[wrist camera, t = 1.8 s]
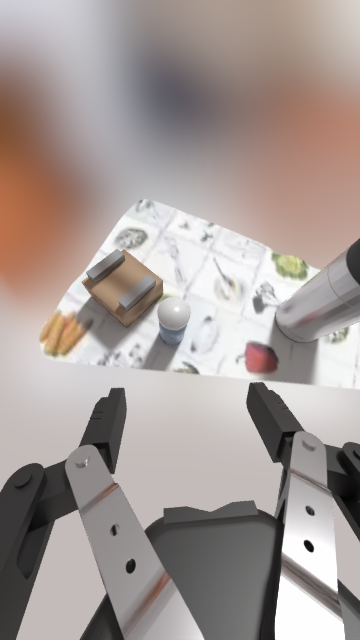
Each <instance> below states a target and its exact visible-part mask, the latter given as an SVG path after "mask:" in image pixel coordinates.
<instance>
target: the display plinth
mask: <svg viewBox="0 0 360 640" xmlns="http://www.w3.org/2000/svg"><path fill="white" fill-rule="evenodd" d="M86 273H87V275H88V277H87V278H86V279H85V280H84V281H82V284H83V285H84V286H85V288H86V289H87V290H88V292H89V293H90V295H91V296H92V297H93V298H94V299H95V300H96V301H98V302H99V303H100V304H101V305H102V306H103V307H104V308H105V309H106V310H107V311H109V312H110V313H111V314H112V315H113V316H114V317H115V318H116V319H117V320H118V321H120V322H121V323H122V324H123V325H124V326H125V327H126V328H127V327H128V326H129V325H130V324H131V323H133V322H134V321H135V320H136V319H137V318H138V317H139V316H140V315H141V314H142V313H143V312H144V311H145V310H146V309H147V308H148V307H150V306H151V305H152V304H153V303H154V302H155V301H156V300H157V299H158V298H159V297H160V296H161V295H162V294H163V280H162V279H160V278H159V277H158V276H157V275H155V274H154V273H153V272H152V271H151V270H149V269H148V268H147V267H146V266H144V265H143V264H142V263H141V262H139V261H138V260H137V259H136V258H134V257H133V256H132V255H131V254H129V253H128V252H127V251H126V250H122V251H121V252H120V251H119V250H118V249H116V250H115V251H114V252H112V253H111V254H110V255H108V256H107V257H106V258H104V259H103V260H102V261H100V262H99V263H98V264H96V265H95V266H94V267H93V268H91V269H90V270H89V271H87V272H86Z"/></svg>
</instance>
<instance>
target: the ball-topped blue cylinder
mask: <svg viewBox="0 0 360 640" xmlns="http://www.w3.org/2000/svg"><path fill="white" fill-rule="evenodd" d="M189 318H190V307H189V305H188V304H187V303H186V302H185V301H184V300H183V299H181V298H178V297H170V298H167V299H165V300H163V301H162V302H161V303H160V305H159V307H158V319H159V325H160V336H161V338H162V340H163V341H164V342H165V343H167V344H170V345H175V344H178V343H179V342H181V340H182V339H183V337H184V333H185V330H186V326H187V323H188V321H189Z"/></svg>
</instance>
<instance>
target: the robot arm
mask: <svg viewBox="0 0 360 640" xmlns="http://www.w3.org/2000/svg"><path fill="white" fill-rule="evenodd" d="M276 321H277V325H278V326H279V328H280V330H281V331H282V332H283V333H284V334H285V335H286V336H287V337H288V338H290V339H292V340H294V341H297V342H310V341H313V340H315V339H318V338H320V337H323V336H326V335H328V334H331V333H333V332H335V331H338V330H340V329H343V328H345V327H348V326H350V325H353V324H355V323H358V322H360V239H358V240H357V241H356V242H355V243H354V244H352V245H351V246H350V247H349V248H348V249H346V250H345V251H344V252H343V253H342V254H340V255H339V256H338V257H337V258H336V259H334V260H333V261H332V262H331V263H330V264H329V265H327V266H326V267H325V268H324V269H323V270H321V271H320V272H319V273H318V274H317V275H315V276H314V277H313V278H312V279H311V280H309V281H308V282H307V283H306V284H305V285H303V286H302V287H301V288H300V289H299V290H297V291H296V292H295V293H294V294H292V295H291V296H290V297H289V298H288V299H286V300H285V301H284V302H283V303H282V304H280V306H279V307H278V309H277V311H276ZM246 404H247V409H248V412H249V413H250V416H251V418H252V420H253V422H254V424H255V426H256V428H257V430H258V432H259V434H260V436H261V438H262V440H263V442H264V444H265V446H266V448H267V450H268V453H269V455H270V457H271V459H272V461H273V462H274V463H276V462H281V463H282V465H283V470H282V476H281V483H280V490H279V495H278V502H277V507H276V512H275V515H274V517H273V516H272V515H270V514H268V513H266V512H264V511H262V510H259V509H257V508H256V506H255V503H254V501H241V502H232V503H230V504H227V505H226V506H223V507H221V508H219V509H217V510H215V511H212V512H208V511H204V510H199V509H194V508H190V507H187V506H186V507H176V508H164V517H162V518H160V519H158V520H156V521H155V522H153V523H152V524H151V525H150V526H149V527H147V529H146V530H145V531H144V530H143V528H142V527H141V525H140V523H139V521H138V519H137V517H136V515H135V513H134V512H133V510H132V508H131V506H130V504H129V502H128V500H127V498H126V497H125V495H124V493H123V491H122V490H121V487H120V486H119V484H118V483H115V482H114V480H113V478H112V476H111V474H114V473H115V468H116V463H117V459H118V454H119V449H120V444H121V438H122V434H123V429H124V424H125V419H126V410H127V408H126V398H125V390H124V388H111V390H110V393H109V396H108V397H103V398H101V399H100V400H99V401H98V402H97V403H96V405H95V408H94V410H93V413H92V415H91V417H90V420H89V423H88V425H87V427H86V430H85V433H84V435H83V438H82V440H81V443H80V445H79V447H78V448H77V449H76V450H74V451H73V452H72V453H71V454H70V455H69V457H68V458H67V459H66V460H65V461H62V462H60V463H57V464H55V465H52V466H49V467H47V468H43V466H42V465H41V464H38V463H32V464H28V465H26V466H24V467H22V468H20V469H19V470H17V471H16V472H15V473H14V474H13V475H12V476H11V477H10V478H9V479H8V480H7V482H6V483H5V485H4V487H3V489H2V490H1V492H0V640H16V637H17V634H18V631H19V628H20V625H21V622H22V619H23V616H24V613H25V610H26V607H27V604H28V601H29V598H30V594H31V592H32V588H33V585H34V582H35V580H36V576H37V574H38V570H39V567H40V564H41V561H42V558H43V555H44V552H45V549H46V546H47V543H48V540H49V537H50V534H51V531H52V528H53V525H54V522H55V520H56V519H58V518H60V517H62V516H65V515H67V514H69V513H71V512H73V511H75V510H79V513H80V516H81V519H82V522H83V525H84V527H85V531H86V533H87V536H88V539H89V542H90V545H91V548H92V551H93V554H94V557H95V560H96V563H97V566H98V569H99V572H100V575H101V578H102V581H103V584H104V587H105V590H106V595H105V597H104V598H103V600H102V602H101V604H100V605H99V607H98V609H97V610H96V612H95V614H94V616H93V617H92V619H91V621H90V623H89V624H88V626H87V628H86V630H85V631H84V633H83V635H82V636H81V638H80V640H360V601H359V600H358V599H357V598H356V597H355V596H354V595H353V594H352V593H351V592H350V591H349V590H348V589H347V588H346V587H345V586H344V585H343V584H342V583H341V582H340V581H339V580H338V579H337V575H336V574H337V573H336V554H335V535H334V515H333V498H334V499H335V501H336V503H337V505H338V506H339V508H340V510H341V511H342V513H343V515H344V516H345V518H346V519H347V521H348V523H349V525H350V526H351V528H352V530H353V531H354V533H355V534H356V536H357V538H358V539H359V541H360V444H357V443H353V442H348V443H345V444H344V446H343V448H338V447H334V446H329V445H325V444H323V443H322V442H321V441H320V440H319V439H318V438H317V437H316V436H314V435H313V434H311V433H308V432H305V431H304V429H303V428H302V426H301V425H300V423H299V422H298V421H297V419H296V418H295V417H294V415H293V414H292V412H291V411H290V410H289V409H288V407H287V406H286V404H284V402H283V400H282V399H281V398H280V396H279V395H278V394H276V393H275V392H274V391H272V390H268V389H267V387H266V386H265V384H264V383H263V382H256V383H250V385H249V391H248V395H247V401H246ZM332 496H333V497H332Z"/></svg>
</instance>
